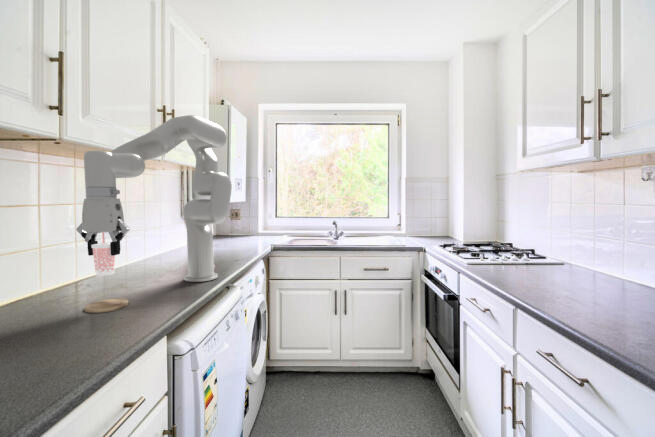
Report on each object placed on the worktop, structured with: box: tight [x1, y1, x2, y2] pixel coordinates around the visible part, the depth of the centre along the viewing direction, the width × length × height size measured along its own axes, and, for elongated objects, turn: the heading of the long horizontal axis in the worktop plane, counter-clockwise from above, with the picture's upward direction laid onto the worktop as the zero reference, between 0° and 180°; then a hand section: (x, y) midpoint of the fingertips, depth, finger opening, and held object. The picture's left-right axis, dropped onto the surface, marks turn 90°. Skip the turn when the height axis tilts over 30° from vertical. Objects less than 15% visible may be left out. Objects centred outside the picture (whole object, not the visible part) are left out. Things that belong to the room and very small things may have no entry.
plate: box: [84, 298, 129, 314], centre depth 102 cm, size 11×11×1 cm
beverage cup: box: [91, 233, 116, 277], centre depth 101 cm, size 6×6×14 cm
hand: (104, 254), depth 101 cm, fingers closed on beverage cup, 6 cm apart
